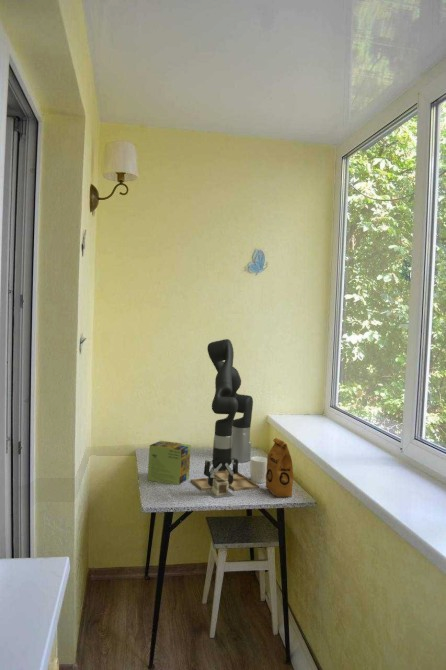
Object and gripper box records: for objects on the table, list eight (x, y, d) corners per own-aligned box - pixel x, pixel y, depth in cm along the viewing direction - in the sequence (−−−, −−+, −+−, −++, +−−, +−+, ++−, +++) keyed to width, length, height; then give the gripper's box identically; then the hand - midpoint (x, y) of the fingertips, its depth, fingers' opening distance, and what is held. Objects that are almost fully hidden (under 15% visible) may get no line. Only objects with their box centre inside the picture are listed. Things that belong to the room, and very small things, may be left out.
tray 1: (215, 480, 228) (216, 477, 228) (227, 489, 217) (227, 485, 217) (190, 482, 223) (190, 479, 223) (201, 491, 212) (201, 488, 212)
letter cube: (222, 490, 213) (223, 478, 213) (228, 494, 209) (228, 482, 208) (211, 491, 211) (212, 479, 211) (216, 495, 206) (217, 483, 206)
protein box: (179, 486, 217) (181, 450, 216) (147, 480, 222) (148, 444, 222) (189, 479, 227) (191, 444, 226) (158, 473, 232) (160, 439, 232)
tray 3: (246, 480, 230) (246, 477, 230) (259, 489, 219) (259, 486, 219) (221, 482, 225) (222, 479, 225) (234, 492, 214) (234, 488, 214)
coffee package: (272, 498, 209) (275, 444, 208) (262, 488, 221) (265, 437, 220) (295, 497, 211) (298, 444, 210) (284, 487, 223) (287, 437, 222)
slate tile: (225, 489, 216) (225, 488, 216) (234, 497, 208) (234, 495, 208) (205, 491, 212) (205, 490, 212) (214, 499, 204) (214, 498, 204)
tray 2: (234, 472, 241) (234, 469, 240) (246, 480, 230) (246, 477, 230) (210, 474, 235) (210, 471, 235) (221, 482, 225) (222, 479, 225)
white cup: (268, 479, 232) (270, 457, 232) (264, 484, 225) (265, 462, 225) (252, 477, 235) (253, 455, 235) (247, 482, 228) (248, 459, 227)
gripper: (234, 442, 215) (231, 480, 216) (202, 444, 209) (200, 483, 210) (242, 447, 209) (240, 486, 209) (210, 449, 203) (208, 489, 203)
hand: (220, 485), depth 210 cm, fingers open, 8 cm apart
